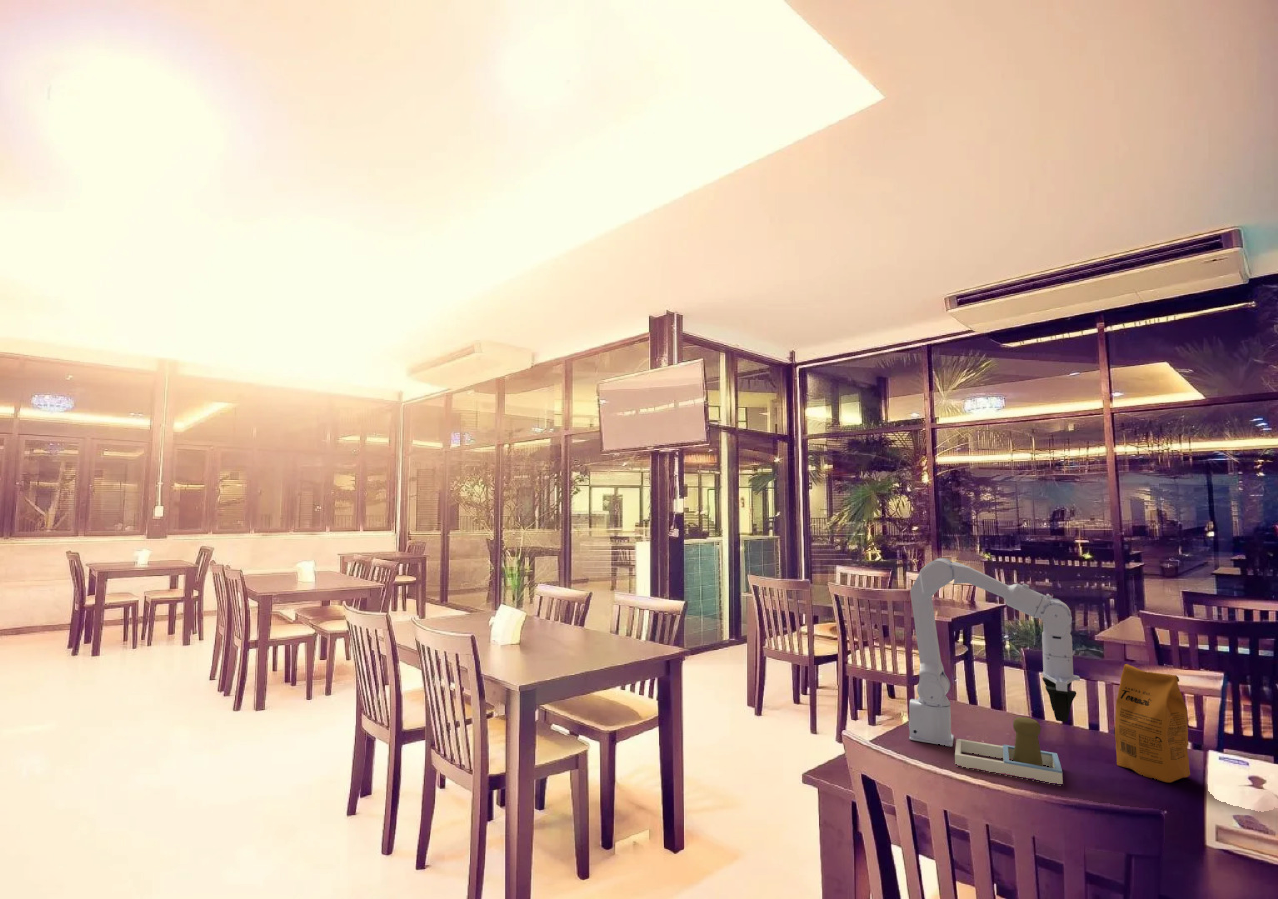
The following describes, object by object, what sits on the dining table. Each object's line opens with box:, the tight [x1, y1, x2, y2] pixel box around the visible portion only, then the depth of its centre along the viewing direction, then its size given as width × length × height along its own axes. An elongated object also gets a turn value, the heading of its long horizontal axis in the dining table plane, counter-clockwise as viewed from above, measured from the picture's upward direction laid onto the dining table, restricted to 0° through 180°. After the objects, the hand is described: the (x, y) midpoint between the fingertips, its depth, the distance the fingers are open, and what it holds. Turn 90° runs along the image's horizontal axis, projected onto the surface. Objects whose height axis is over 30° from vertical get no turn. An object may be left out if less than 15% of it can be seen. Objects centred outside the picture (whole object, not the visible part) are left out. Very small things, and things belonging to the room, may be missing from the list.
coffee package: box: [1114, 663, 1191, 783], centre depth 142 cm, size 10×12×22 cm
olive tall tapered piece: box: [1012, 716, 1043, 766], centre depth 141 cm, size 6×6×11 cm
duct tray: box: [954, 738, 1064, 785], centre depth 143 cm, size 20×11×3 cm, turn 62°
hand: (1059, 716), depth 145 cm, fingers open, 7 cm apart
